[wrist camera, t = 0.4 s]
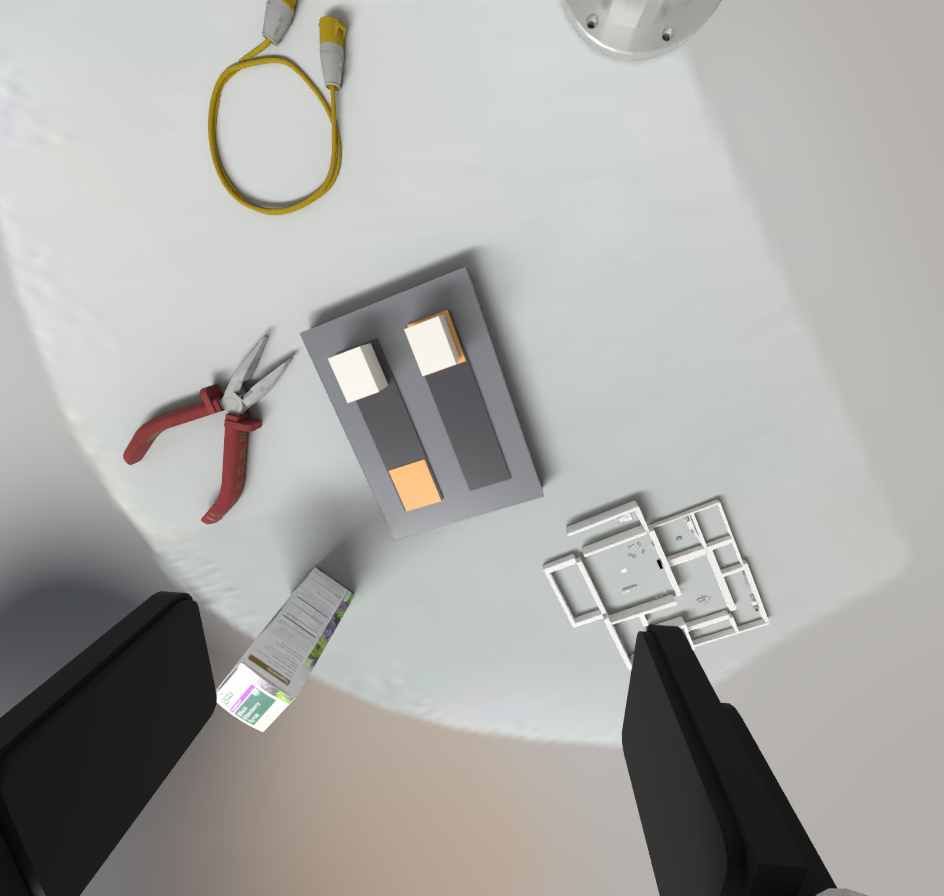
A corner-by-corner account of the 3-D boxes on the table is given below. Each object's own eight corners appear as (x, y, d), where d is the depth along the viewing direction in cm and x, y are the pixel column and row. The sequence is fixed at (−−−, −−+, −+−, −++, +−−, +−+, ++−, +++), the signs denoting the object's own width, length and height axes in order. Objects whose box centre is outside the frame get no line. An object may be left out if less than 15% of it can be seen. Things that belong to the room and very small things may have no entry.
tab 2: (412, 327, 38) (404, 329, 36) (443, 314, 38) (438, 315, 35) (429, 370, 40) (422, 376, 37) (460, 359, 39) (456, 364, 36)
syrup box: (329, 623, 53) (264, 737, 39) (288, 595, 52) (207, 701, 38) (356, 593, 51) (298, 701, 37) (313, 563, 50) (238, 662, 36)
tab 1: (340, 354, 40) (327, 358, 37) (370, 343, 39) (359, 346, 36) (359, 396, 41) (347, 403, 38) (388, 385, 40) (379, 391, 37)
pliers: (333, 387, 44) (322, 393, 41) (223, 521, 50) (207, 533, 47) (235, 300, 42) (217, 300, 40) (133, 450, 48) (111, 458, 46)
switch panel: (309, 331, 42) (298, 333, 40) (467, 268, 39) (464, 266, 37) (398, 530, 48) (393, 541, 46) (542, 488, 45) (543, 497, 43)
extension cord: (406, 112, 36) (401, 101, 34) (278, 246, 40) (266, 243, 38) (302, -33, 34) (289, -53, 32) (177, 125, 38) (159, 116, 36)
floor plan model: (479, 558, 49) (478, 568, 47) (708, 468, 43) (717, 476, 41) (549, 683, 53) (550, 696, 51) (764, 616, 48) (774, 628, 46)
